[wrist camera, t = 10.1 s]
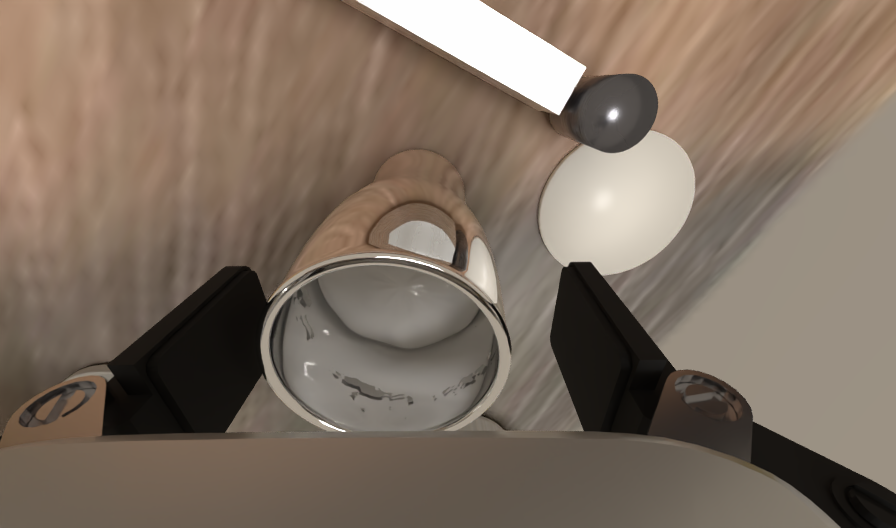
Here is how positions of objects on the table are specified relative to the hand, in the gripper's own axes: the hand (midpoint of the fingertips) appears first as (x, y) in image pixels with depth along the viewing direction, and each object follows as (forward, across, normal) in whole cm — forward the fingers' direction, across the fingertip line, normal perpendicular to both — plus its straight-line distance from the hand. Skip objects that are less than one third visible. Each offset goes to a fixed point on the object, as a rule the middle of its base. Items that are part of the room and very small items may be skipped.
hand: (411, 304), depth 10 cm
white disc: (+13, -12, +2) cm, 18 cm away
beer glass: (+13, +1, +1) cm, 13 cm away
